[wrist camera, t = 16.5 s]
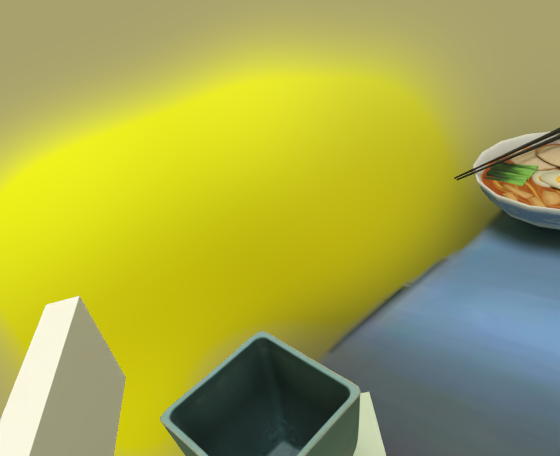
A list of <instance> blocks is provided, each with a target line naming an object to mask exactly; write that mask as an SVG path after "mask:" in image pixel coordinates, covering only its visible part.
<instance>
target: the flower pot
mask: <svg viewBox="0 0 560 456" xmlns="http://www.w3.org/2000/svg"><path fill="white" fill-rule="evenodd" d="M360 393H361V392H360V389H359V387H358V386H357V385H355V384H354V383H352V382H351V381H349V380H347V379H345V378H343V377H342V376H340V375H338V374H336V373H335V372H333V371H331V370H329V369H328V368H326V367H324V366H323V365H321V364H320V363H318V362H316V361H314V360H312V359H311V358H309V357H307V356H305V355H304V354H302V353H300V352H299V351H297V350H295V349H294V348H292V347H291V346H289V345H287V344H285V343H284V342H282V341H280V340H279V339H277V338H275V337H274V336H272V335H271V334H269V333H266V332H263V331H262V332H258V333H257V334H255V335H254V336H252V337H251V338H250V339H248V340H247V341H246V342H245V343H244V344H243V345H241V346H240V347H239V348H238V349H237V350H236V351H235V352H234V353H233V354H232V355H230V356H229V357H228V358H227V359H226V360H225V361H223V362H222V363H221V364H220V365H219V366H218V367H216V368H215V369H214V370H213V371H212V372H211V373H210V374H208V375H207V376H206V377H205V378H203V379H202V380H201V381H200V382H199V383H197V384H196V385H195V386H194V387H192V388H191V389H190V390H189V391H188V392H187V393H185V394H184V395H183V396H182V397H181V398H179V399H178V400H177V401H176V402H175V403H173V404H172V405H171V406H170V407H169V408H168V409H167V410H166V411H165V412H164V413H163V415H162V416H161V417H160V420H161V422H162V424H163V425H164V426H165V428H166V429H167V430H168V432H169V433H170V435H171V436H172V437H173V439H174V440H175V441H176V443H177V444H178V446H179V447H180V448H181V450H182V451H183V453H184V454H185V455H186V456H353V455H354V452H355V449H356V445H357V441H358V431H359V413H360Z"/></svg>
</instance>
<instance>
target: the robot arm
mask: <svg viewBox="0 0 560 456" xmlns="http://www.w3.org/2000/svg"><path fill="white" fill-rule="evenodd" d="M125 378H126V377H125V375H124V374H123V372H122V370H121V368H120V367H119V365H118V363H117V361H116V359H115V358H114V356H113V354H112V352H111V351H110V349H109V347H108V345H107V344H106V342H105V340H104V338H103V337H102V335H101V333H100V331H99V329H98V328H97V326H96V324H95V322H94V321H93V319H92V317H91V315H90V314H89V312H88V310H87V308H86V307H85V305H84V303H83V301H82V300H81V298H80V296H77V297H74V298H70V299H67V300H63V301H59V302H55V303H51V304H47V305H46V307H45V309H44V312H43V314H42V317H41V319H40V322H39V324H38V327H37V329H36V332H35V334H34V337H33V339H32V342H31V344H30V347H29V349H28V352H27V355H26V357H25V359H24V362H23V365H22V367H21V370H20V372H19V375H18V378H17V380H16V382H15V385H14V387H13V390H12V392H11V395H10V397H9V400H8V402H7V405H6V408H5V410H4V412H3V415H2V417H1V420H0V456H114V450H115V443H116V437H117V430H118V424H119V417H120V410H121V403H122V398H123V391H124V385H125Z"/></svg>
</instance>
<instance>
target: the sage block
mask: <svg viewBox="0 0 560 456" xmlns="http://www.w3.org/2000/svg"><path fill="white" fill-rule="evenodd" d="M353 456H386V453H385V450H384V446H383V442H382V438H381V435H380V431H379V427H378V423H377V420H376V416H375V412H374V408H373V405H372V401H371V397H370V393H369V392H366V393H361V394H360V413H359V431H358V441H357V445H356V449H355V452H354V455H353Z"/></svg>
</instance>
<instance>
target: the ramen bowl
mask: <svg viewBox="0 0 560 456" xmlns="http://www.w3.org/2000/svg"><path fill="white" fill-rule="evenodd" d="M472 171H474V172H472ZM469 172H472V173H470V174H468V175H465V176H463V177H461V178H458V177H460V176H462V175H464V174H467V173H469ZM474 173H475V176H476V179H477V182H478V184H479V185H480V187H481V189H482V191H483V192H484V193H485V194H486V195H487V196H488V198H489V199H490V200H491V201H493V202H494V203H495V204H496V205H497V206H498V207H500V208H501V209H502V210H503V211H505V212H506V213H507V214H508V215H510V216H511V217H513V218H516V219H519V220H522V221H525V222H527V223H530V224H533V225H536V226H538V227H544V228H551V229H558V230H560V128H558V129H556V130H554V131H550V132H541V133H531V134H526V135H522V136H518V137H515V138H511V139H507V140H503V141H500V142H499V143H497V144H495V145H493V146H492V147H490V148H488V149H487V150H485V151H483V152H482V153H481V154H480V156H479V157H478V158H477V160H476V162H475V163H474V165H473V169H471V170H469V171H467V172H465V173H463V174H461V175H459V176H457V177H455V178H458V179H457V180H459V179H462V178H464V177H467V176H469V175H472V174H474ZM455 178H454V179H455Z"/></svg>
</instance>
